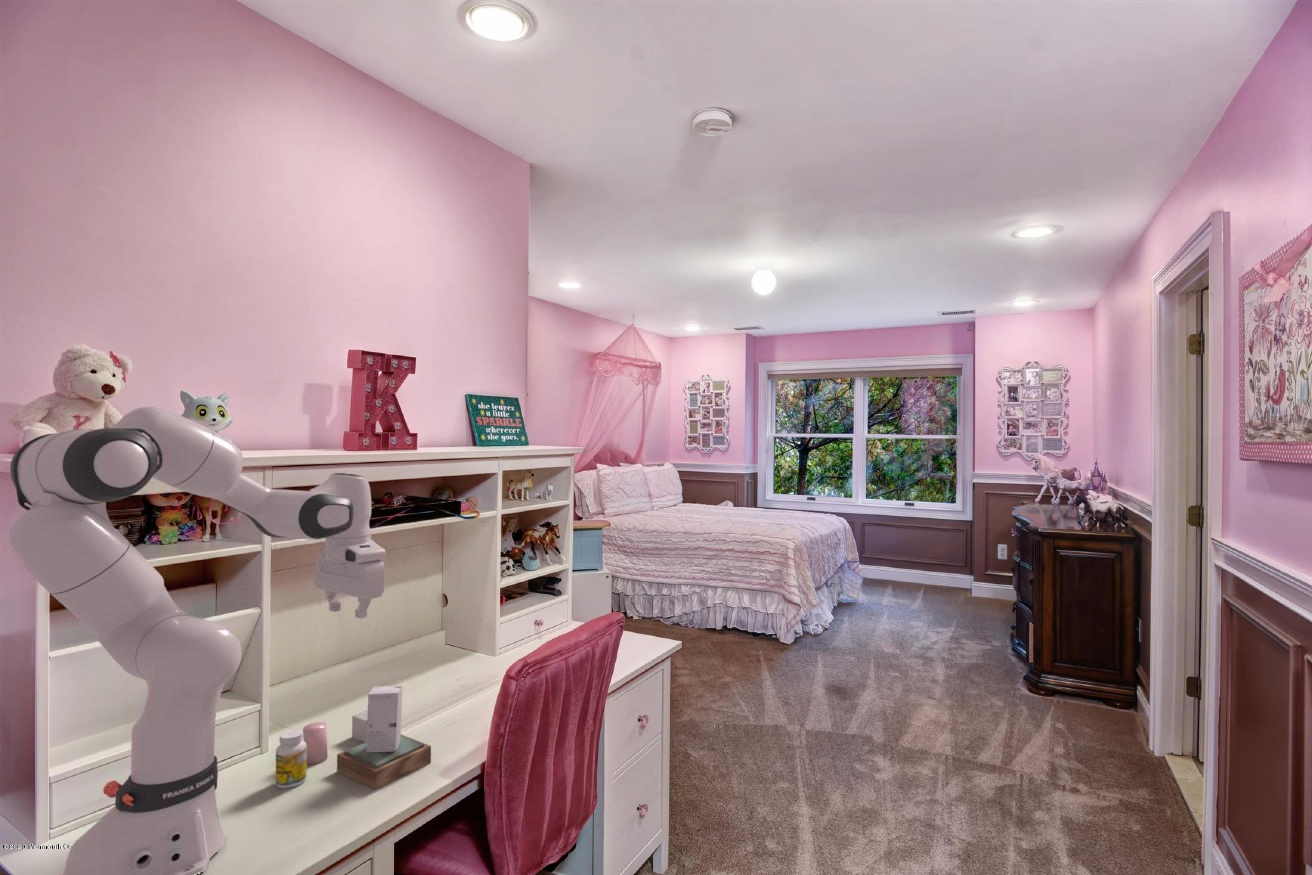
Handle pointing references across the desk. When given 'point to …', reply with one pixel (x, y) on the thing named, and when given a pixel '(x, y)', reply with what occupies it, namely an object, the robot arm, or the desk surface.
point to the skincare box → (384, 719)
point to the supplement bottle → (291, 759)
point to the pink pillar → (315, 742)
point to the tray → (383, 762)
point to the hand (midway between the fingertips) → (347, 614)
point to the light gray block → (360, 726)
